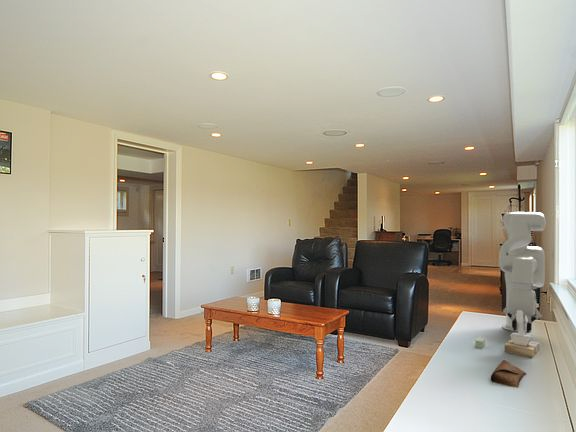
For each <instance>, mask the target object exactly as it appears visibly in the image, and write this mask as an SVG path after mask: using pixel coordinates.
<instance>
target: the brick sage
mask: <svg viewBox="0 0 576 432" xmlns="http://www.w3.org/2000/svg"><path fill="white" fill-rule="evenodd" d="M485 340H486V338H483V337H476V339H475V343H474V344H475V348H477V349H478V348H480V349H484V347H485V342H486V341H485Z"/></svg>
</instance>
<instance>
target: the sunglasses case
mask: <svg viewBox="0 0 576 432" xmlns="http://www.w3.org/2000/svg"><path fill="white" fill-rule="evenodd" d="M526 374H527V373H526V372H525V371H524V370H522V369H521V368H518V367H516V366H514V365H513V364H511V363H510V362H509V361H508V360H506V359H504V360H502V361H501V362H500V363H498V365H497V366H496V367H495V369H494V371H493V372H492V374H491V375H490V381H491V383H493V384H499V385H502V386H507V387H513V388H516V389H518V388H519V387H520V386H519V385H520V382H521V380H522V379H523V378H524V377H525V375H526Z"/></svg>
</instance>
